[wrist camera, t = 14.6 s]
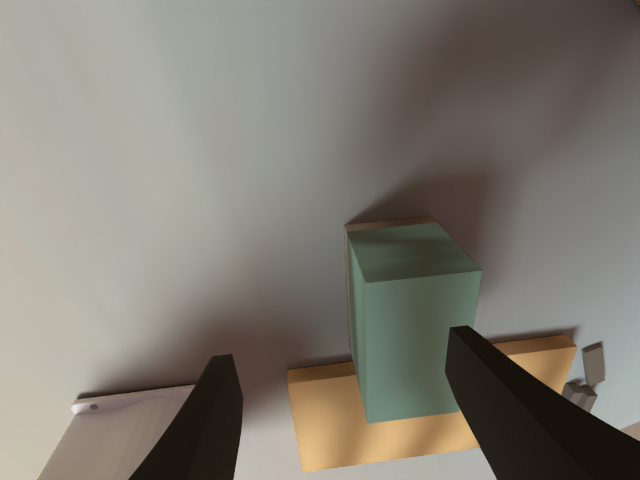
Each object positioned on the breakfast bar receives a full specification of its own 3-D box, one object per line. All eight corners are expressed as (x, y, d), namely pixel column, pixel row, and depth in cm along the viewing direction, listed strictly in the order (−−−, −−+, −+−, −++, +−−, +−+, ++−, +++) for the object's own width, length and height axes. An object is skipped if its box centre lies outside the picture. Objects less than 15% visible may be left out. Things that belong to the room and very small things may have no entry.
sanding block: (348, 343, 24) (367, 424, 19) (343, 224, 20) (365, 283, 15) (420, 335, 24) (458, 412, 19) (430, 215, 20) (482, 270, 15)
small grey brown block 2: (572, 430, 29) (581, 429, 29) (588, 396, 27) (597, 395, 27) (562, 417, 30) (570, 416, 30) (576, 384, 28) (585, 383, 29)
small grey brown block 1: (604, 380, 28) (596, 372, 28) (601, 346, 26) (593, 339, 27) (589, 386, 28) (581, 377, 28) (585, 352, 26) (577, 345, 27)
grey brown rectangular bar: (552, 427, 29) (560, 427, 29) (574, 392, 27) (583, 393, 27) (542, 414, 30) (551, 414, 30) (563, 380, 28) (572, 380, 28)
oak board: (301, 457, 29) (302, 472, 28) (287, 369, 24) (287, 384, 23) (536, 424, 30) (546, 438, 29) (564, 334, 25) (577, 346, 24)
